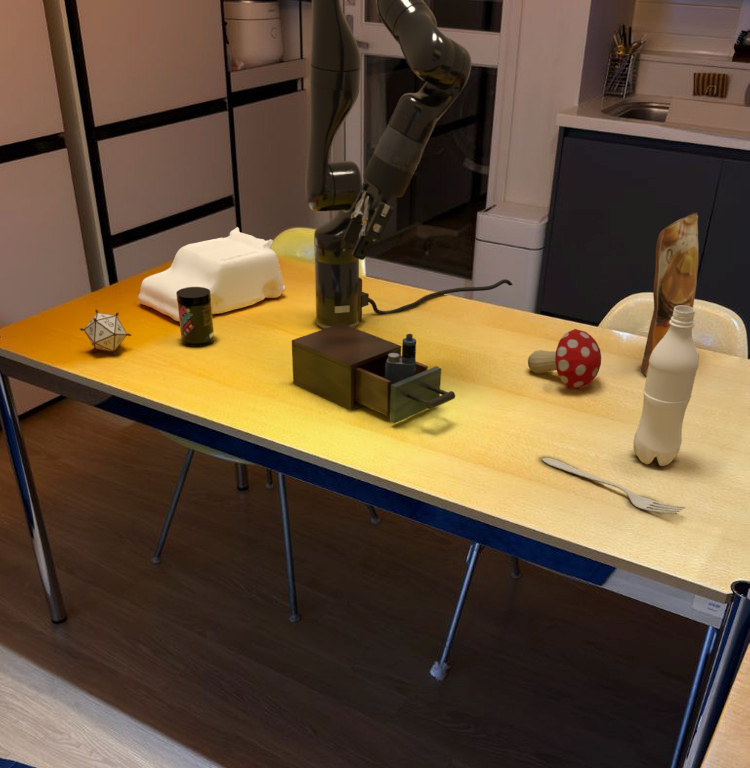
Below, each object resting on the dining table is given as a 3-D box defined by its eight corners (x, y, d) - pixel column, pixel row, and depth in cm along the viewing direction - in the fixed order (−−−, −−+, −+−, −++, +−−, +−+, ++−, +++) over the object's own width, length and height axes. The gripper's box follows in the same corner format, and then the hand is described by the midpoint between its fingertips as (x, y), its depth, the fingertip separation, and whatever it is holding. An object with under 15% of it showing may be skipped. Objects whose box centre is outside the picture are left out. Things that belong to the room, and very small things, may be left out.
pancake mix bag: (621, 371, 171) (646, 225, 156) (669, 345, 182) (697, 207, 167) (652, 382, 167) (681, 233, 152) (699, 354, 178) (731, 214, 164)
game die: (120, 366, 179) (146, 327, 176) (95, 366, 171) (122, 326, 168) (90, 337, 180) (115, 298, 177) (63, 337, 172) (89, 296, 169)
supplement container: (186, 334, 184) (181, 286, 179) (218, 335, 184) (213, 287, 178) (177, 347, 178) (172, 297, 173) (210, 348, 178) (206, 298, 172)
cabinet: (400, 389, 162) (401, 345, 158) (350, 410, 155) (350, 365, 150) (342, 364, 172) (342, 322, 167) (293, 383, 164) (291, 340, 160)
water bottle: (624, 448, 144) (652, 301, 131) (667, 447, 145) (698, 300, 131) (639, 470, 138) (669, 318, 125) (683, 468, 139) (718, 317, 125)
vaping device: (412, 403, 153) (415, 338, 146) (383, 400, 154) (384, 335, 147) (415, 397, 155) (418, 332, 149) (386, 394, 156) (387, 330, 149)
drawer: (464, 413, 152) (466, 377, 149) (419, 435, 145) (421, 397, 142) (381, 378, 164) (381, 344, 161) (336, 397, 157) (336, 361, 154)
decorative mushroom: (517, 325, 167) (584, 318, 156) (551, 344, 175) (617, 338, 163) (507, 381, 166) (573, 378, 155) (541, 398, 173) (607, 396, 162)
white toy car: (291, 297, 205) (289, 239, 198) (181, 328, 187) (174, 266, 180) (243, 277, 216) (239, 222, 209) (134, 305, 199) (126, 245, 192)
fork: (549, 455, 142) (550, 446, 141) (684, 516, 127) (687, 506, 126) (536, 462, 140) (538, 452, 139) (673, 524, 125) (675, 514, 124)
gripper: (424, 181, 142) (380, 271, 149) (403, 160, 153) (363, 244, 160) (384, 162, 139) (340, 255, 146) (366, 141, 150) (326, 228, 157)
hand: (352, 249), depth 153 cm, fingers open, 8 cm apart
